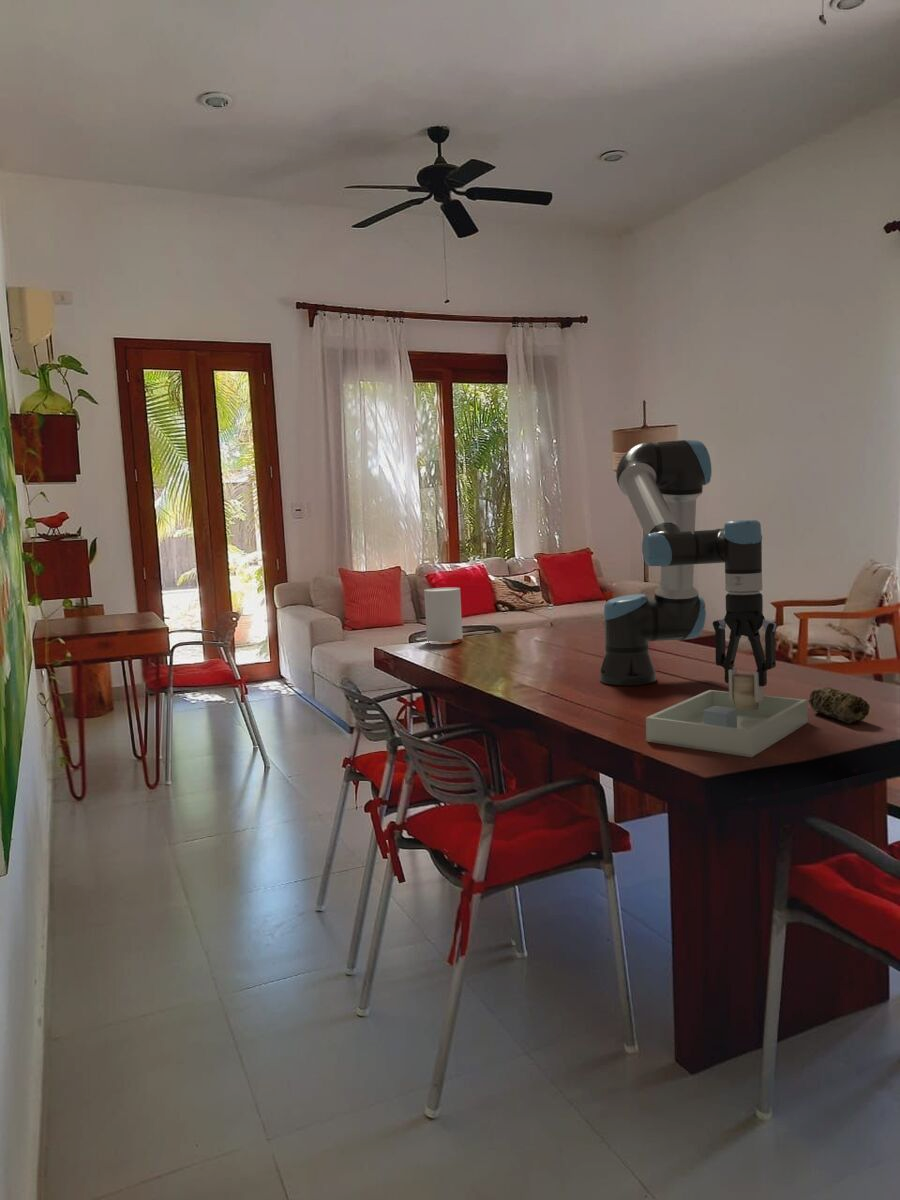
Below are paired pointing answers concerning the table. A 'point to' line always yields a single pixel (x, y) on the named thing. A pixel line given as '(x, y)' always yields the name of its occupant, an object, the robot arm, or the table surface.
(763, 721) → the tote
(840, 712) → the coral
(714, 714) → the slate cube
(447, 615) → the canister
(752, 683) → the beech cylinder
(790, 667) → the table surface
